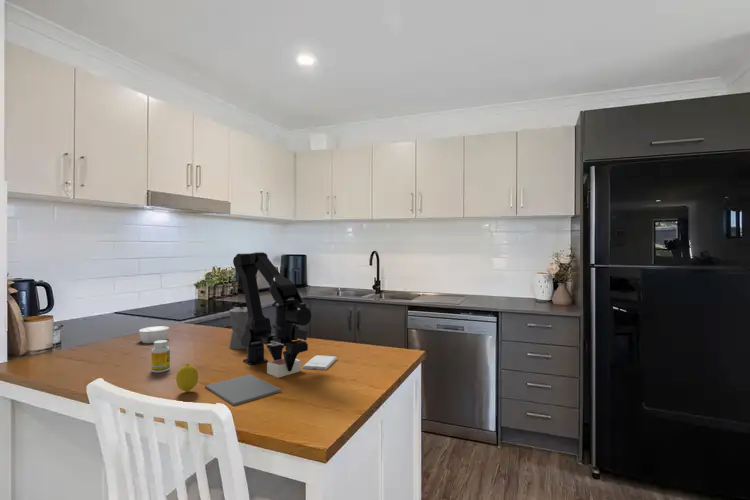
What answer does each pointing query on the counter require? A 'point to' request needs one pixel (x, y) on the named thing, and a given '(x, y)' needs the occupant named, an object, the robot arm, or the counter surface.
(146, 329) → the ramekin
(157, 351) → the supplement bottle
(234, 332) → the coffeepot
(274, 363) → the card box
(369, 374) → the counter surface
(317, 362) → the external hard drive
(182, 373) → the lemon
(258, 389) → the mat
